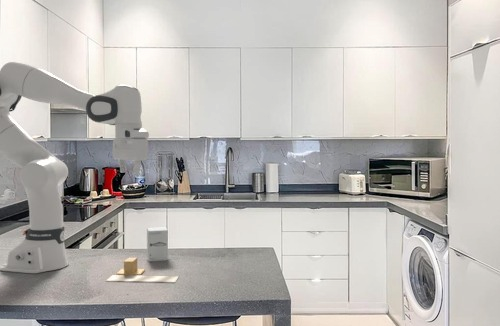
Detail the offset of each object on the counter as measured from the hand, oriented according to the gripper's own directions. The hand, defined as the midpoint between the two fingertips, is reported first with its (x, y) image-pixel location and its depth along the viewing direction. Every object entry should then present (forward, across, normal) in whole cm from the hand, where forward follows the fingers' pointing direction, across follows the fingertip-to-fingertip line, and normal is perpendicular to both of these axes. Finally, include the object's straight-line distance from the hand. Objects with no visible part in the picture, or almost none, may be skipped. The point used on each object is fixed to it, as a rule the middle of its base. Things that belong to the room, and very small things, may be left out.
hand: (129, 173), depth 159 cm
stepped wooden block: (+33, +5, -2) cm, 34 cm away
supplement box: (+35, -7, +14) cm, 38 cm away
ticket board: (+35, +11, 0) cm, 36 cm away
